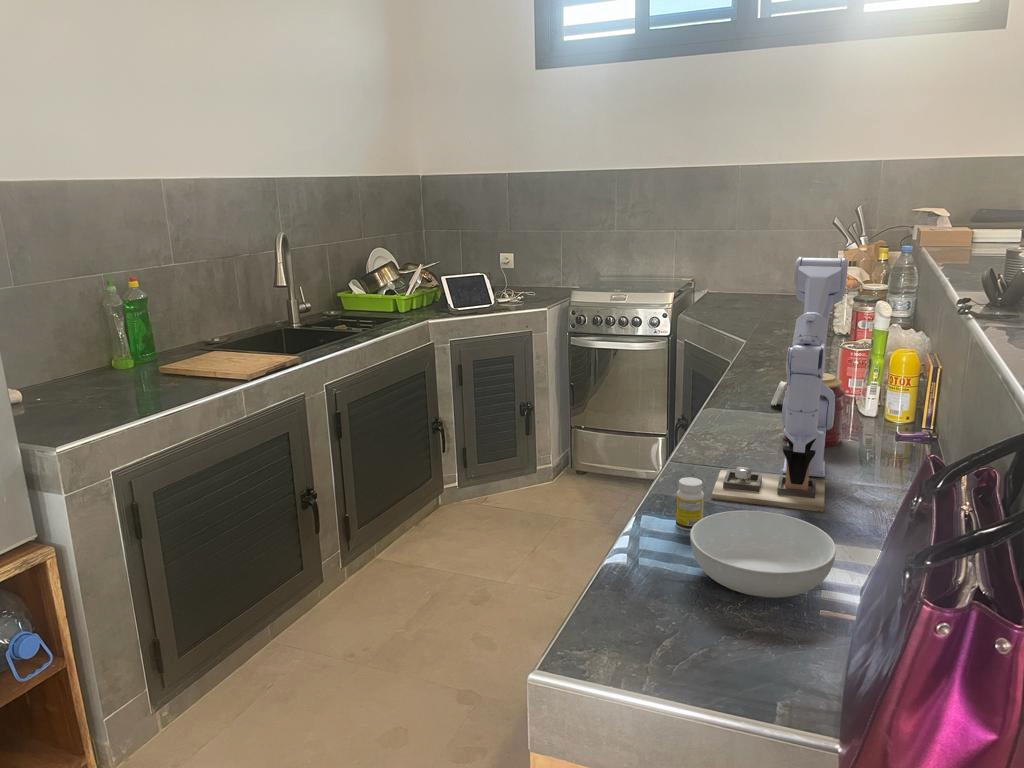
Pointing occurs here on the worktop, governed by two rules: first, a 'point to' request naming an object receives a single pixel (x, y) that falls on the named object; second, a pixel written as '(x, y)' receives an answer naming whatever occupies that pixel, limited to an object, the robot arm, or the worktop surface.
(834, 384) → the canister
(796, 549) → the serving bowl
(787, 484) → the tan tall block
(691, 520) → the supplement bottle
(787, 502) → the board
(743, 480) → the pin
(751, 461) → the worktop surface
